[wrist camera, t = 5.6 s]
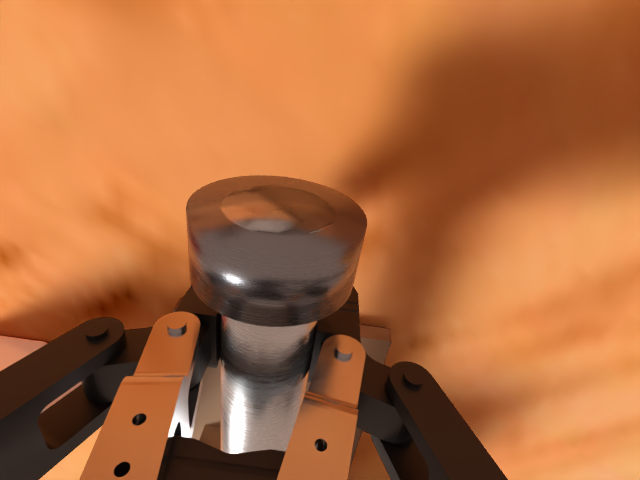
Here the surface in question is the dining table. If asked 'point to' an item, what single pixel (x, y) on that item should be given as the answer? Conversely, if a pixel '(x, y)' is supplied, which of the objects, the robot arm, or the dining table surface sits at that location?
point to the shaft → (269, 291)
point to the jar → (22, 355)
